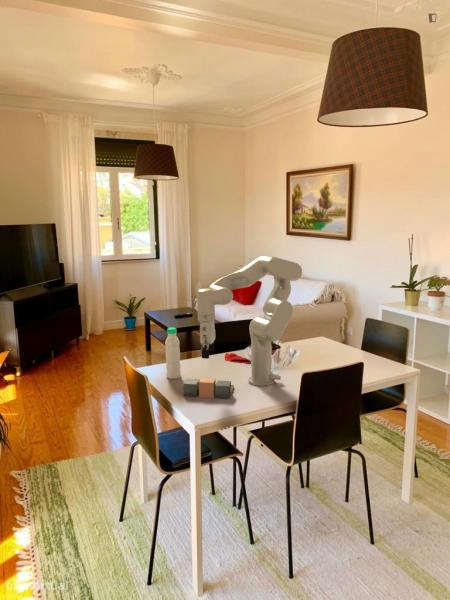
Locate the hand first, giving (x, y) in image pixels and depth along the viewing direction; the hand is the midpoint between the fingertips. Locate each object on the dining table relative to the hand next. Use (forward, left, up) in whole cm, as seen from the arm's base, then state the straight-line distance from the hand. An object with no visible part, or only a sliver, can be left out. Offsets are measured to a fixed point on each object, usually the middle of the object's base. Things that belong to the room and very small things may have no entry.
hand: (208, 354), depth 201 cm
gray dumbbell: (0, -2, -19) cm, 19 cm away
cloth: (-4, -51, -20) cm, 55 cm away
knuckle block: (0, +1, -19) cm, 19 cm away
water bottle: (+22, -19, -19) cm, 35 cm away
